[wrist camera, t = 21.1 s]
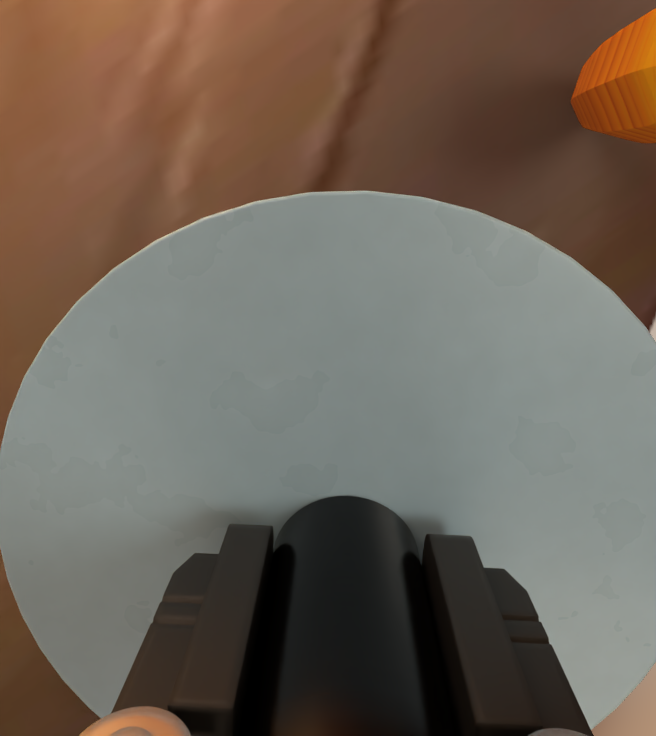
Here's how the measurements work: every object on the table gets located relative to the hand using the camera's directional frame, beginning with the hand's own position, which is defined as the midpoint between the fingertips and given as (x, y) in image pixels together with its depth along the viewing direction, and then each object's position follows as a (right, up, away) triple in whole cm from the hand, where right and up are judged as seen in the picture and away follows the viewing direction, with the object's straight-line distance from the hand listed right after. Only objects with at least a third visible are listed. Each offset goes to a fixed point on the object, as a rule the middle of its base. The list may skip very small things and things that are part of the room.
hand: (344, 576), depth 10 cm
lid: (0, 0, +1) cm, 1 cm away
